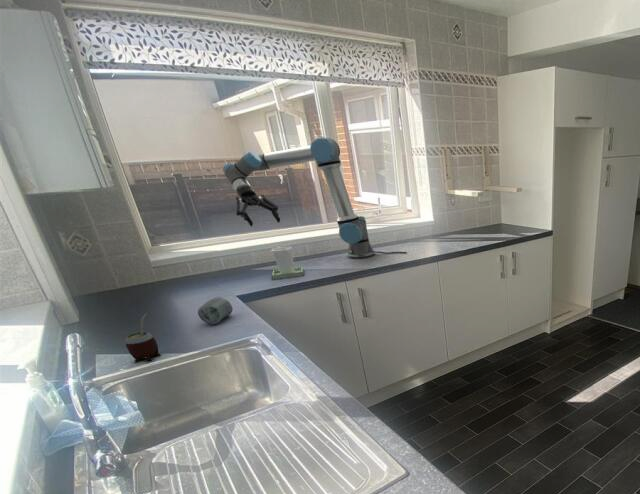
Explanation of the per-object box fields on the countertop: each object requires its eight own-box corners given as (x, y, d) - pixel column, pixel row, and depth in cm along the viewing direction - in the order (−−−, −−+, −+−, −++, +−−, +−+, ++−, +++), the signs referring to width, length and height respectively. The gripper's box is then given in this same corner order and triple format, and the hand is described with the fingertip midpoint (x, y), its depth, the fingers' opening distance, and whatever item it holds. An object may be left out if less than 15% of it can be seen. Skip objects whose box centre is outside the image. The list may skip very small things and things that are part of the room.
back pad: (303, 270, 228) (302, 266, 227) (303, 275, 218) (302, 271, 217) (274, 274, 222) (272, 270, 221) (272, 279, 213) (271, 275, 212)
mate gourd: (131, 359, 132) (110, 314, 125) (162, 350, 137) (143, 307, 131) (136, 366, 127) (115, 320, 121) (168, 356, 133) (148, 312, 126)
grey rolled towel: (221, 318, 153) (204, 294, 152) (200, 330, 154) (184, 307, 153) (245, 314, 167) (230, 291, 165) (226, 325, 168) (211, 303, 166)
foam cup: (278, 272, 222) (271, 248, 216) (297, 270, 226) (291, 246, 220) (278, 277, 214) (270, 251, 209) (297, 274, 218) (291, 249, 212)
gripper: (268, 193, 229) (288, 224, 227) (217, 198, 211) (239, 231, 209) (270, 183, 223) (291, 214, 221) (218, 187, 206) (240, 221, 204)
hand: (265, 222), depth 215 cm, fingers open, 13 cm apart
